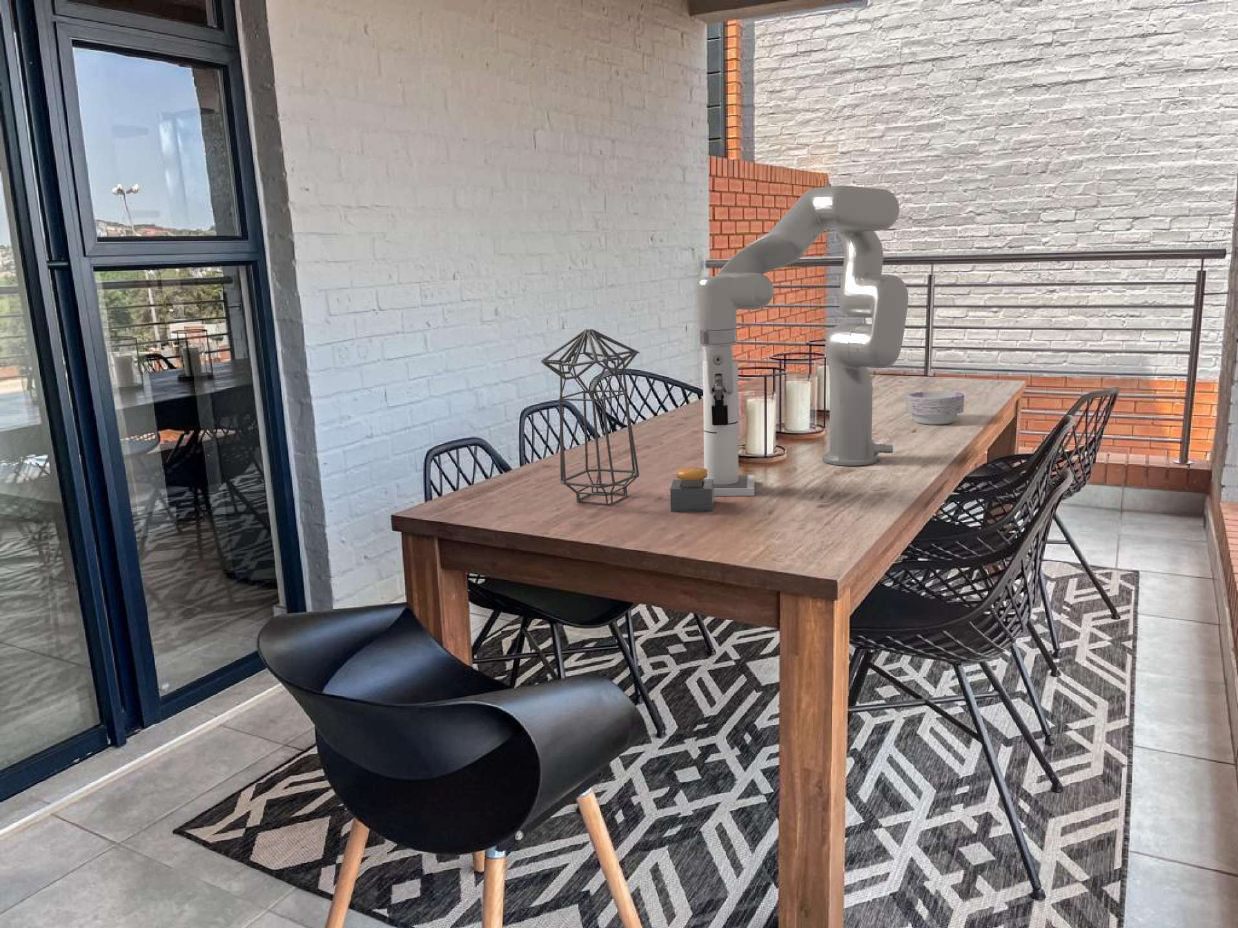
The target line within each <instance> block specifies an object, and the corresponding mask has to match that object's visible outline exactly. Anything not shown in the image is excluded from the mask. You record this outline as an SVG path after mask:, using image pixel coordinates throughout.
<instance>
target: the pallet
mask: <svg viewBox="0 0 1238 928" xmlns="http://www.w3.org/2000/svg"><path fill="white" fill-rule="evenodd" d="M744 496H745V497H747V496H748V497H754V496H755V474H738V482H736V483H733V484H725V485H717V484H714V497H744Z"/></svg>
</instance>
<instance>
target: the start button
mask: <svg viewBox="0 0 1238 928" xmlns="http://www.w3.org/2000/svg"><path fill="white" fill-rule="evenodd" d="M704 478H707V469H705V468H704V467H696V466H692V467H683V468H679V469H677V470H676V479H681V487H703V479H704Z"/></svg>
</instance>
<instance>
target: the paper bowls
mask: <svg viewBox="0 0 1238 928" xmlns="http://www.w3.org/2000/svg"><path fill="white" fill-rule="evenodd" d="M964 402H965V395H964V393H962V392H958V391H957V392H956V391H947V390H946V391H945V390H929V391H928V390H927V391H915V392H911V393H907V394H906V395H905V410H906V411H905V412H906V413H908V414H911V415H912V417H913V420H914V421H915V423H918V424H920V425H921V424H922V425H935V426H939V425H949V424H952V423H954V421H955V420H956V418H957V416H958V415H959V414H962V413H964V410H965V409H964V408H965V403H964Z"/></svg>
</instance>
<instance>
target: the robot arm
mask: <svg viewBox="0 0 1238 928" xmlns="http://www.w3.org/2000/svg"><path fill="white" fill-rule="evenodd" d="M899 214H900V204H899V200H898V198H897V197H896V195H895V194H894V193H893V192H892V191H890V190H888V189H884V188H875V187H873V188H872V187H862V186H856V185H832V186H823V187H814V188H811V189H808V190H807V191H805V192H804V193H803V194H802V195H801V196H800V197H799V198H798V199H797V200H796V202H795V203H794V204H793V205H792V206H790V208H789V210H788V211H787V212H786V213H785V214H784V215H783V216H782V218H780V220H778V222H777V223H776V224H775V226H774V227H773V228H772V229H770V231H768V232H767V233H766V234H763V235H762V236H760V237H759V238H757V239H756V240H754V241H752V242H751V243H749V244H748V245H747V246H745V247H743V248H742V249H740V250H739V251H738V252H737V253H735V254H734V255H733V256H731V257H730V259H729V260H728V261H727V262H726V263H725V264H724V265H723V266H722V268H720V270H719V271H718V272H717V274H715V275H712V276H710V275H709V276H704V277H701V278H700V279H699V281H698V283H697V298H698V299H697V302H698V323H699V325H698V326H699V328H698V329H699V347H701V348H702V347H703V348H704V347H705V354H706V355H705V357H706V360H705V361H707V376H708V386H709V393H710V394H711V395H712V405H713V406H712V425H714V426H716V425H728V405H726V391H727V392H730V395H731V394H733V368H732V363H733V360H734V357H733V356H734V355H733V354H734V353H733V346H736V345H738V339H737V338H738V334H737V330H738V329H737V327H738V326H737V310H745V311H746V310H747V311H756V310H760V309H763V308H765V307H766V306H768V304H770V303H771V301H772V300H773V297H774V294H775V292H774V290H775V287H774V285H773V282H772V280H771V279H770V278H769V277H768V276H766V275H765V274H766V273H768V272H770V271H774V270H777V269H779V268H783V267H786V266H788V265H791V264H793V263H795V262H798V261H799V260H800V259H801V258H802V257H803V256H804V254H805V253H806V252H807V251H808V250H809V248H810V247H812V245H813V244H814V243H815V241H816V240H817V239H818V238H819V237H820V236H821V235H822V234H823V232H825V231H826V230H827V229H831V228H832V229H833V230H834V231H835V233H837V236H838V237H839V239H840V241H841V243H842V247H843V252H844V253H843V254H844V257H843V266H842V267H843V268H842V273H841V281H840V287H839V294H838V295H839V296H838V308H839V310H840V311H841V312H842V314H844V315H845V316H847V317H848V316H849V317H853V318H866V319H871V323H858V322H845V323H844V322H843V323H840V324H838V325H835V326H834V327H832V329H830V331H829V332H828V333H827V336H826V339H825V343H824V344H825V355H826V360H827V364H828V370H829V451H828V452H825V453H824V454H823V455H822V461H823V462H824V463H827V464H829V465H835V466H846V467H847V466H848V467H850V466H851V467H855V466H856V467H857V466H866V465H867V466H868V465H873V464H875V463H877V462H878V461H879V454H893V453H894V448H893V447H894V446H893V444H886V443H880V444H879V443H876V442H874V440H873V433H872V432H873V431H872V430H873V395H874V394H873V389H874V387H873V386H874V385H873V380H872V376H871V374H870V372H869V369H868V368H871V369H872V368H873V369H886V368H889V367H891V366H893V365H894V364H895V363H896V362H897V360H898V358H899V357H900V354H901V350H902V346H903V341H904V333H905V328H906V322H907V315H908V308H909V293H908V289H907V285H906V283H905V282H904V281H903V279H902V278H900V277H899V276H897V275H894V274H887V273H885V274H883V264H884V248H883V244H882V241H881V240H880V238H879V236H878V234H877V233H876V232H880V231H884V230H888V229H889V228H891V227H892V226H893V225H894V224H895V223H896V222H897V220H898V218H899ZM715 374H716V377H715ZM714 385H715V391H714ZM722 385H724V391H722Z"/></svg>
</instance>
